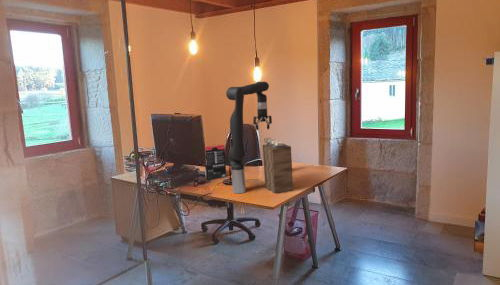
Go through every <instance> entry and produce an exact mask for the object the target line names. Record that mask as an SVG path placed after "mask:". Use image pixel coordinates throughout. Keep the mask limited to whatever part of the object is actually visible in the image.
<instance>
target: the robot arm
mask: <svg viewBox="0 0 500 285" xmlns="http://www.w3.org/2000/svg"><path fill="white" fill-rule="evenodd" d="M269 88H270V86H269V83H268V82H267V81H257V82H256V83H251V84H247V85H246V84H245V85H242V86H230V87H228V88H227V90H226V94H225V96H226V98H227V99H228V100H231V101H234V102H235V104H234V110H233V111H232V114H231V115H230V119H229V129H230V135H231V137H232V142H233V144H232V146H231V148H230V149H229V152H228V158H229V165H230V170H231V182H232V192H233V194H238V193H239V194H243V193H246V191H247V190H246V176H245V174H246V173H245V164H244V163H243V159H244V157H245V147H244V146H245V145H244V116H243V115H244V103H245V102H244V98H245V96H246V95H253V94H256V97H257V98H256V99H257V104H256V106H257V108H256V109H257V110H256V111H257V112H256V113H257V116H256V115H255V116H253V120H252V121H253V122H252V124H253V125H254V126H255V129H256V131H259V124H260V123H262V122H265V123H266V130H269V129H270V125H271V124H272V123H273V122H272V121H273V119H272V115H268V102H267V101H268V99H267V94H264V92H266V91H268V90H269Z"/></svg>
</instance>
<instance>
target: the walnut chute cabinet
mask: <svg viewBox="0 0 500 285" xmlns="http://www.w3.org/2000/svg"><path fill="white" fill-rule="evenodd" d="M262 154H263V155H262V156H263V172H264V185H265V186H264V187H265V188H266V189H267V190H269V191H270V192H271V191H272V192H271V193H273V194H274V193H278V194H282V193H281V192H284V193H288V191H289V192H293V191H294V183H293V182H294V181H293V178H294V177H293V163H292V162H293V159H292V158H293V157H292V146H291V145H288V144H285V143H283V142H282V145H281V146H277V145H274V144H272V143H269V142H267V143H265V144H263V145H262Z"/></svg>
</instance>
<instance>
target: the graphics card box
mask: <svg viewBox="0 0 500 285" xmlns="http://www.w3.org/2000/svg"><path fill="white" fill-rule="evenodd" d="M204 147H205V148H206V159H207V165H206V166H205V165H204V172H205V174H204V176H205V179H206V178H207V179H208V180H213V179H221V178H222V179H223V178H227V165H226V151H225V150H226V147H225V144H217V145H216V144H215V145H208V146H204ZM207 179H206V180H207Z"/></svg>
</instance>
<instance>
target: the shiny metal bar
mask: <svg viewBox="0 0 500 285" xmlns="http://www.w3.org/2000/svg"><path fill="white" fill-rule="evenodd" d="M263 141H264V143H265V144H267V142H269V143H272V144H274V145H277V146H281V145H282V143H283V142H282V141H279V140H276V139H273V138H271V137H264V138H263Z"/></svg>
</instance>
